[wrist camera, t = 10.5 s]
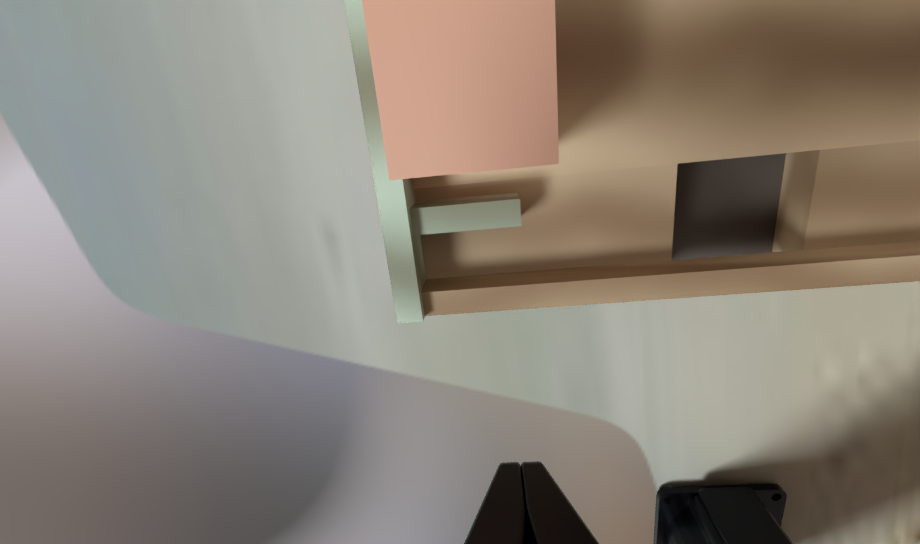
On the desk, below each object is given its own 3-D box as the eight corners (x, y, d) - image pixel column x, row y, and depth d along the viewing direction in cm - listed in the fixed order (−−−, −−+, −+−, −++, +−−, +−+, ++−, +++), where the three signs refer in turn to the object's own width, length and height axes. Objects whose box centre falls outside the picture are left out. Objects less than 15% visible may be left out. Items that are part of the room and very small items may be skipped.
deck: (914, 247, 19) (1023, 279, 15) (413, 285, 20) (397, 323, 17) (1040, -248, 13) (1261, -393, 10) (351, -135, 15) (307, -220, 11)
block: (541, 153, 16) (559, 163, 12) (411, 166, 17) (389, 180, 13) (535, 1, 14) (553, -40, 11) (391, 20, 15) (359, -14, 11)
